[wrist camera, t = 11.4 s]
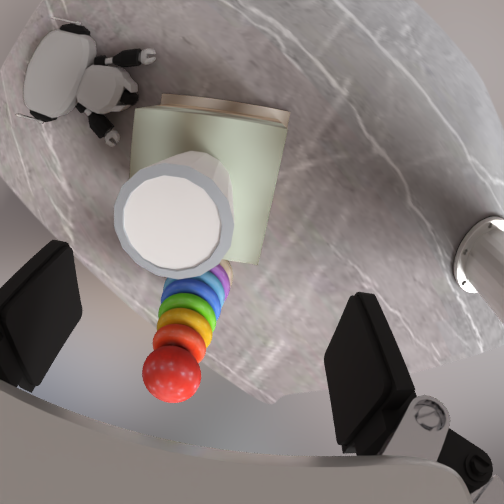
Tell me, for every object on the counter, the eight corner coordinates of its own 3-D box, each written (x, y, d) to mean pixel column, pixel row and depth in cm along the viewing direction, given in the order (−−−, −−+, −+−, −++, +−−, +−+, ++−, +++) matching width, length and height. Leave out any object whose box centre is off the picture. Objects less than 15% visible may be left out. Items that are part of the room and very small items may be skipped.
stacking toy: (169, 238, 36) (112, 354, 20) (236, 246, 37) (220, 371, 20) (170, 292, 40) (129, 410, 24) (230, 299, 40) (216, 425, 24)
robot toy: (169, 50, 27) (63, 19, 23) (159, 45, 23) (44, 14, 19) (124, 147, 32) (29, 110, 28) (110, 157, 28) (9, 115, 24)
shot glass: (141, 213, 23) (104, 257, 17) (164, 130, 20) (126, 146, 14) (222, 242, 24) (211, 295, 18) (254, 161, 21) (254, 190, 15)
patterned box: (289, 111, 29) (305, 118, 20) (264, 225, 35) (267, 277, 26) (165, 93, 28) (124, 94, 19) (153, 206, 34) (117, 251, 25)
